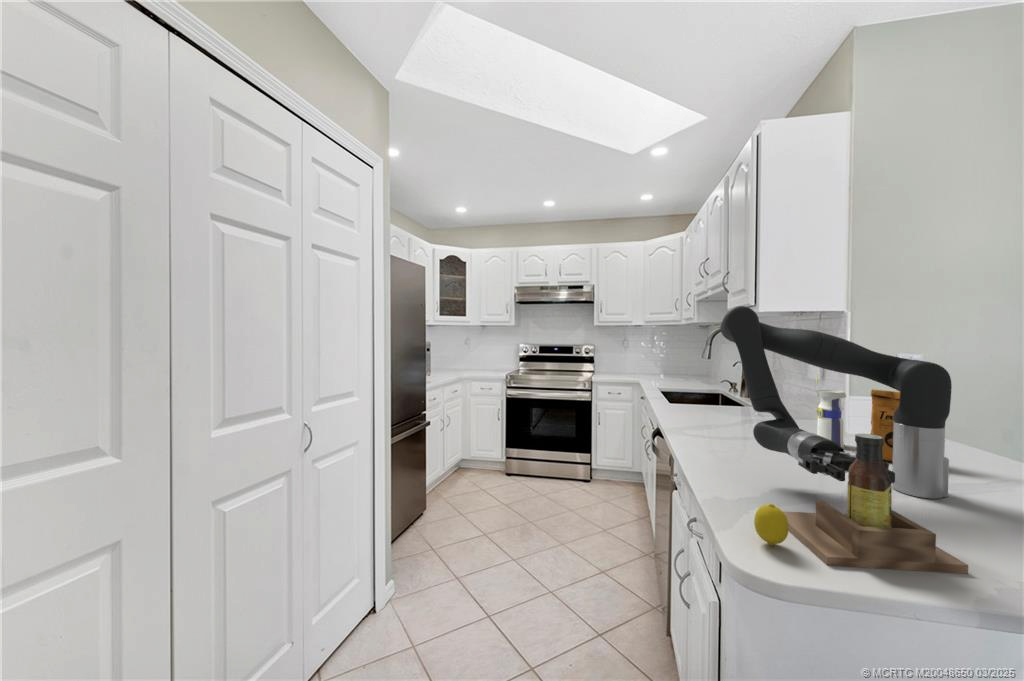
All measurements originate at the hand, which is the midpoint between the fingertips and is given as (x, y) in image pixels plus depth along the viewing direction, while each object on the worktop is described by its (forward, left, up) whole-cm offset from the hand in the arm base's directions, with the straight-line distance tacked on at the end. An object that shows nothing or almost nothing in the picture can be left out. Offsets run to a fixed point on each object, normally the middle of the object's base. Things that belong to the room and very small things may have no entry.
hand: (867, 477), depth 77 cm
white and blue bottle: (-37, -72, -14) cm, 82 cm away
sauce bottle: (0, 0, -12) cm, 12 cm away
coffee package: (-46, -56, -14) cm, 74 cm away
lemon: (+18, +1, -14) cm, 22 cm away
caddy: (0, -2, -13) cm, 14 cm away
